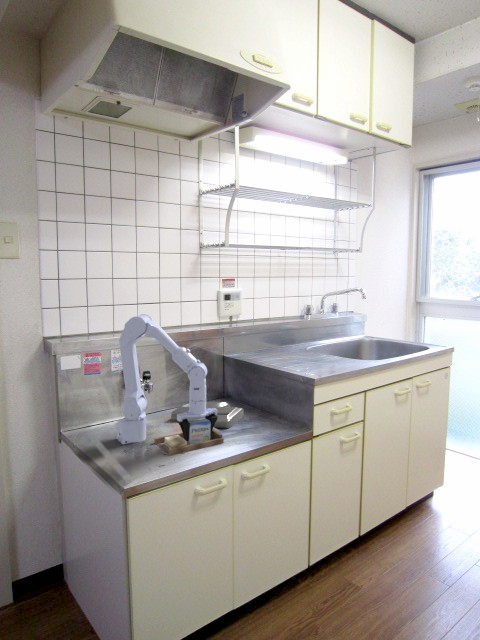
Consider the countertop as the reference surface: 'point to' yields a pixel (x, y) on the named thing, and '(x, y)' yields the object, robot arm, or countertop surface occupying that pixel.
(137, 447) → the countertop surface
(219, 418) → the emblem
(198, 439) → the medicine box
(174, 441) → the offcut top
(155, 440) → the rack
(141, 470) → the countertop surface
